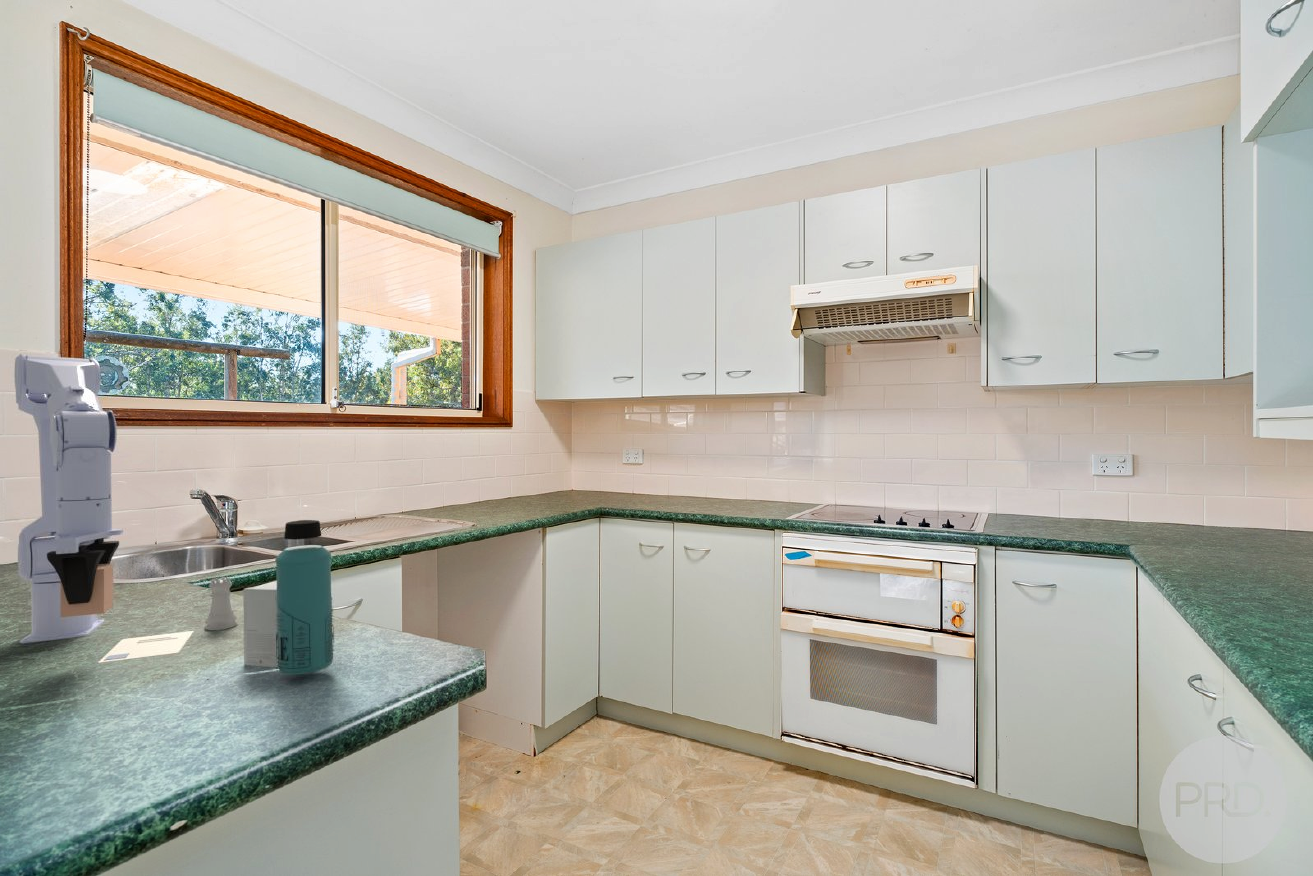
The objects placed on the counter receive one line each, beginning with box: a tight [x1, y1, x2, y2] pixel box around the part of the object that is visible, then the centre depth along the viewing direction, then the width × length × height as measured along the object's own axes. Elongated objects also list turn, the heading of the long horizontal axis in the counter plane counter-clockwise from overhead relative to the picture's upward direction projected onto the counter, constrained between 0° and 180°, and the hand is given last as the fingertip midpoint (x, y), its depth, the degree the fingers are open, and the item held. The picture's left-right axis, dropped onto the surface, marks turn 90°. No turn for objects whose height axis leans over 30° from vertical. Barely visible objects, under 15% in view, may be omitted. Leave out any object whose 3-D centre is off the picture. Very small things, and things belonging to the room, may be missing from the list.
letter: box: [97, 630, 195, 664], centre depth 97 cm, size 12×9×1 cm
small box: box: [242, 580, 278, 668], centre depth 91 cm, size 8×6×10 cm
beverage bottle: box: [274, 519, 335, 675], centre depth 84 cm, size 6×7×20 cm
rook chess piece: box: [204, 576, 238, 631], centre depth 107 cm, size 4×4×8 cm
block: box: [60, 562, 114, 617], centre depth 90 cm, size 4×4×6 cm
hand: (85, 599), depth 90 cm, fingers closed on block, 4 cm apart
